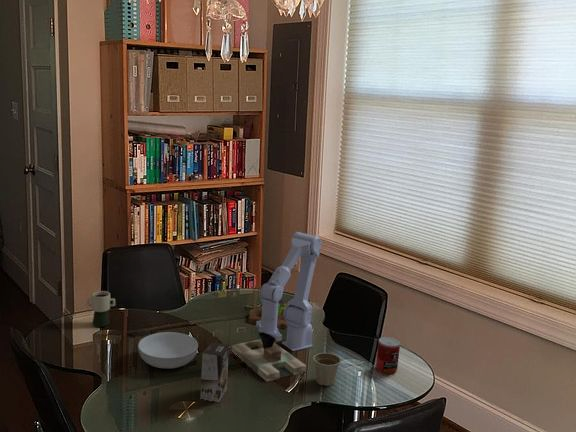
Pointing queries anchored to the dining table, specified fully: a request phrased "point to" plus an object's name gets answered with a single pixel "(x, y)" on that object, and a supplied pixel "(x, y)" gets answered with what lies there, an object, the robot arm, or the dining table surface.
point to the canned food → (387, 355)
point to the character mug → (100, 307)
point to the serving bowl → (168, 349)
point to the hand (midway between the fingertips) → (267, 351)
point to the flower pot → (326, 368)
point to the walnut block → (272, 354)
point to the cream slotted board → (267, 370)
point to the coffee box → (214, 371)
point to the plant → (257, 315)
